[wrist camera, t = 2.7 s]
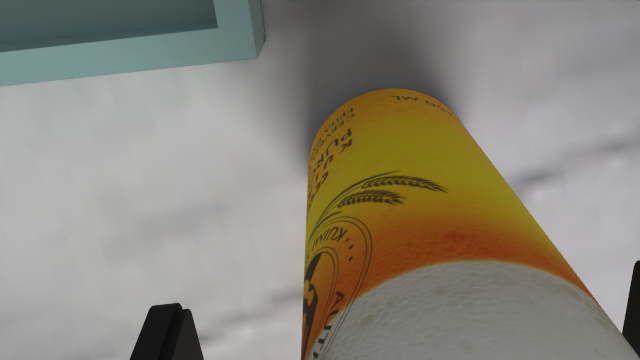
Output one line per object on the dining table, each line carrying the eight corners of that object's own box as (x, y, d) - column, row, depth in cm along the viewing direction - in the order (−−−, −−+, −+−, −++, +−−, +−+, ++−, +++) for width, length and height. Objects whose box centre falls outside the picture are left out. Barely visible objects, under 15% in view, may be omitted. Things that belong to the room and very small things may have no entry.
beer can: (307, 83, 20) (283, 430, 6) (474, 81, 20) (837, 424, 6) (309, 228, 22) (298, 704, 8) (457, 226, 22) (684, 700, 8)
